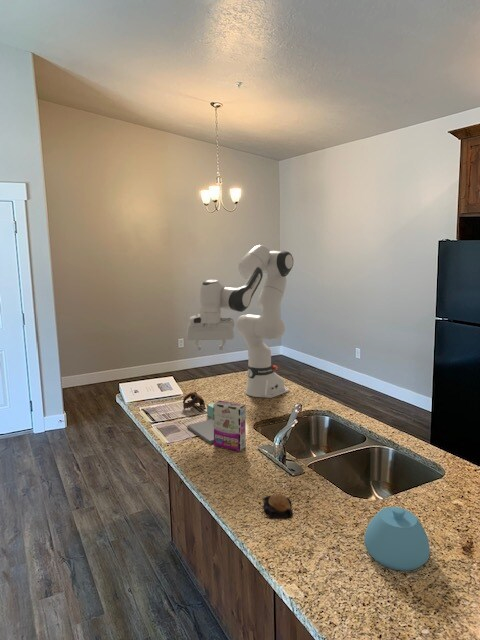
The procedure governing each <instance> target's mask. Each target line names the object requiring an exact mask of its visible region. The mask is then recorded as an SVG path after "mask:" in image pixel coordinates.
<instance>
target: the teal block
mask: <svg viewBox="0 0 480 640" xmlns="http://www.w3.org/2000/svg"><path fill="white" fill-rule="evenodd" d="M215 403H216V402H212V403H208V404H206V415H207V416H208V417H209V418H211V419H214V407H213V404H215Z"/></svg>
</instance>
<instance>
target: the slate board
mask: <svg viewBox="0 0 480 640" xmlns="http://www.w3.org/2000/svg"><path fill="white" fill-rule="evenodd" d="M187 429H189V431H191V432H192V433H194V434H195V435H196V436H198V437H200V438H201V439H203V440H204V441H205V442H206V443H208V444H209V445H211V444H214V419H212V418H211V419H207V420H202V421H198V422H195V423H190V424H187Z"/></svg>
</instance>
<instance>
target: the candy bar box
mask: <svg viewBox="0 0 480 640" xmlns="http://www.w3.org/2000/svg"><path fill="white" fill-rule="evenodd" d="M214 403H215V404H213V407H214V443H213V446H214V447H217V448H221V449H225V450H231V451H235V452H237V453H239V452H240V453H241V452H242V451H243V450H244V449H246V447H247V446H246V444H247V443H246V442H247V439H246V433H247V431H246V427H247V426H246V424H247V421H246V415H247V414H246V410H247V409H246V408H247V407H246V404H243V403H236V402H231V401H224V400H218V401H217V402H214Z"/></svg>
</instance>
